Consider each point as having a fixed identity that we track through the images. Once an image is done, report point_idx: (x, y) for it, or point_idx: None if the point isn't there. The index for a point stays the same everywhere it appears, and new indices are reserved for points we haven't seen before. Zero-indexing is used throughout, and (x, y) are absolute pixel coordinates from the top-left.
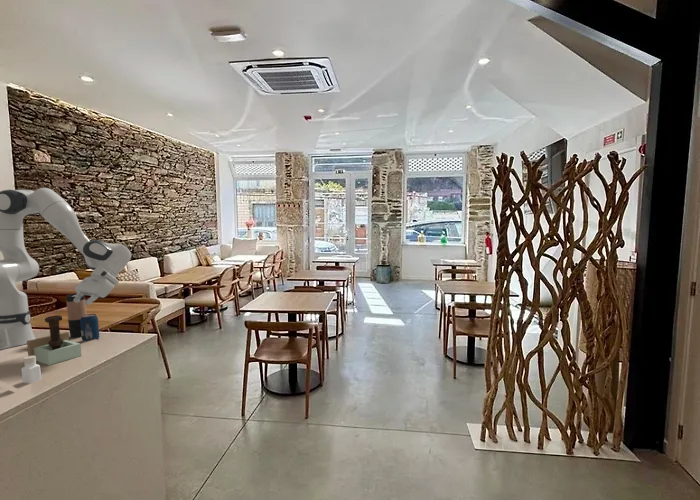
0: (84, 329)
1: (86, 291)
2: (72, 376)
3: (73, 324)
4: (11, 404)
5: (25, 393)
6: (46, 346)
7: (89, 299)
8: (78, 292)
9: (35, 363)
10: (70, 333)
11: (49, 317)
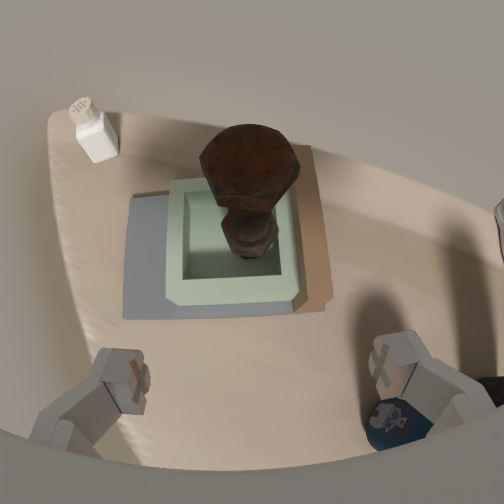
0: (403, 406)
1: (242, 474)
2: (59, 219)
3: (502, 388)
4: (56, 115)
5: (73, 134)
6: (275, 209)
7: (81, 381)
8: (478, 405)
9: (78, 127)
10: (490, 377)
11: (259, 142)
